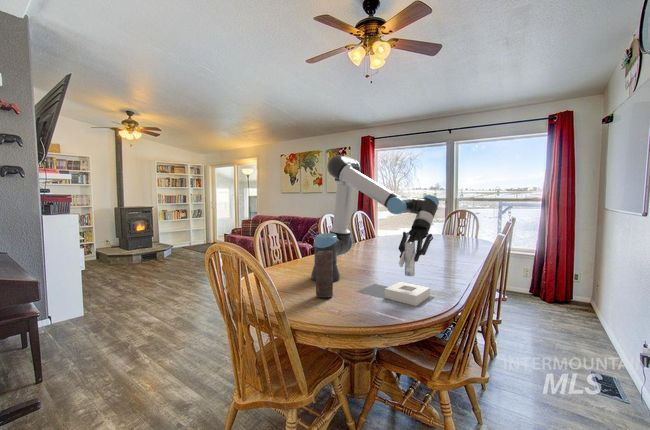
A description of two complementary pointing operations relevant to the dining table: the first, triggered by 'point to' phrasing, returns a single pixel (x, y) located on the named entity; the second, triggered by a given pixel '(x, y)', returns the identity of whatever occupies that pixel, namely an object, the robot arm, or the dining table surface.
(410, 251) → the pin
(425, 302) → the mat
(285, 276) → the dining table surface
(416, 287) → the hole block
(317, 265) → the candle
